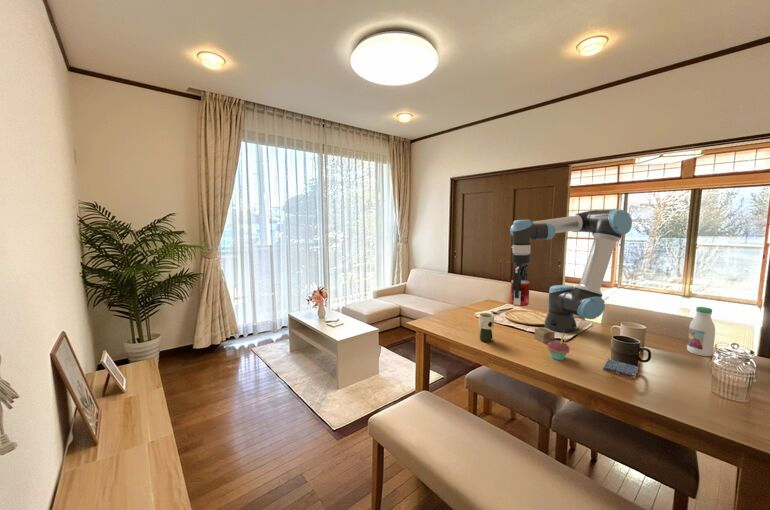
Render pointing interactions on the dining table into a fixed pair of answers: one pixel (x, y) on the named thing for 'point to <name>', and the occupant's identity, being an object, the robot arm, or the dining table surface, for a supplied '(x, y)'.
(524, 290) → the canned food
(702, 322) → the milk bottle
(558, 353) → the cupcake
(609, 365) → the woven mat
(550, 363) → the dining table surface
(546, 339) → the walnut block
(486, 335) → the character mug
